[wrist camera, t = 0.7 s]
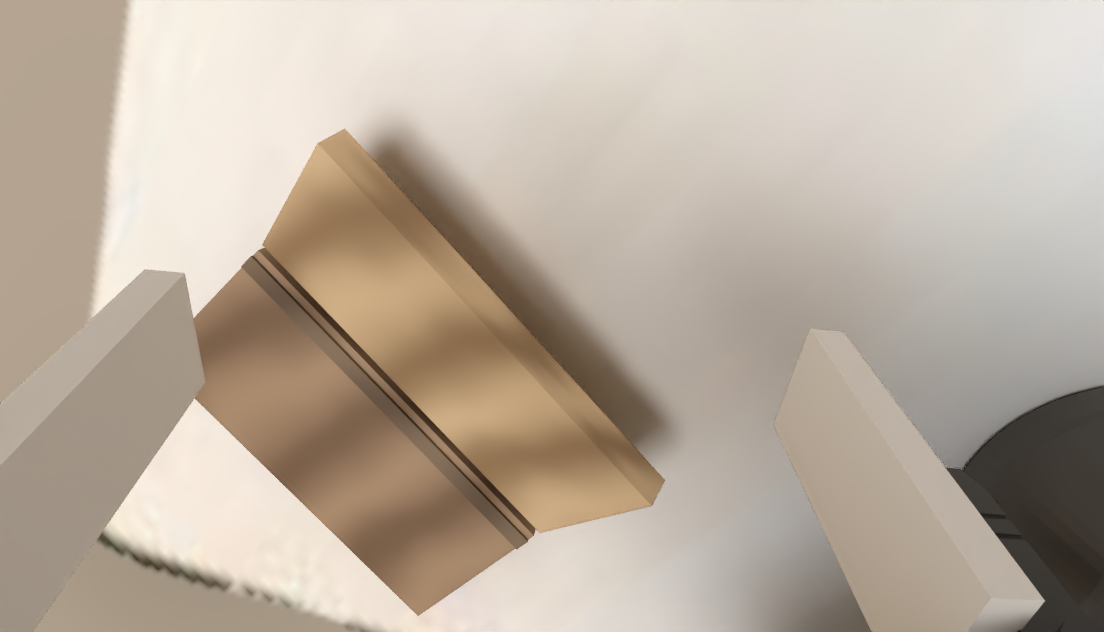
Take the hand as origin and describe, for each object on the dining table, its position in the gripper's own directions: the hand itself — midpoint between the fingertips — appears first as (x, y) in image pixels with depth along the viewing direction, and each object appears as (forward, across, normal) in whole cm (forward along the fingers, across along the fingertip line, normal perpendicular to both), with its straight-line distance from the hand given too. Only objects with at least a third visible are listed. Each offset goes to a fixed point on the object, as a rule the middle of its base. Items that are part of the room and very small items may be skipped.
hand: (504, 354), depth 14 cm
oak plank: (+14, +2, +10) cm, 17 cm away
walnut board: (+16, +7, +17) cm, 24 cm away
